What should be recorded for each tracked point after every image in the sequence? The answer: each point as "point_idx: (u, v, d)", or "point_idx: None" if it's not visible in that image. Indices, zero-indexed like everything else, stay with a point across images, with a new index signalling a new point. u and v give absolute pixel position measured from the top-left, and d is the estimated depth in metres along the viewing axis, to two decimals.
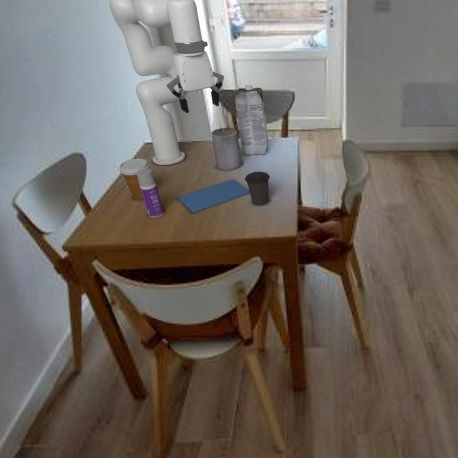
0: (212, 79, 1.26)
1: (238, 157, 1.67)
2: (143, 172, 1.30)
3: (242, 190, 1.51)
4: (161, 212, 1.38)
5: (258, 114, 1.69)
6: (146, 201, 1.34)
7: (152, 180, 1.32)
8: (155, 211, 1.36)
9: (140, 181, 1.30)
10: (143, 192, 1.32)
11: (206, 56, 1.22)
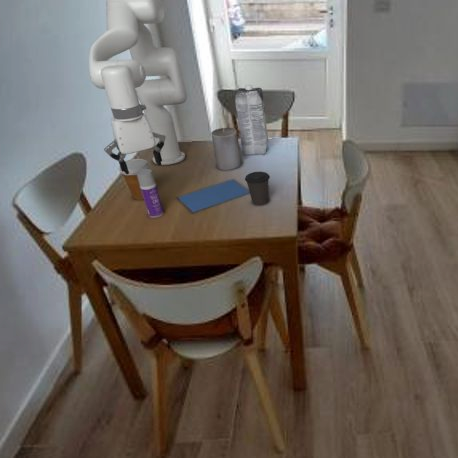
0: (152, 141, 1.26)
1: (238, 157, 1.67)
2: (143, 172, 1.30)
3: (242, 190, 1.51)
4: (161, 212, 1.38)
5: (258, 114, 1.69)
6: (146, 201, 1.34)
7: (152, 180, 1.32)
8: (155, 211, 1.36)
9: (140, 181, 1.30)
10: (143, 192, 1.32)
11: (144, 119, 1.22)
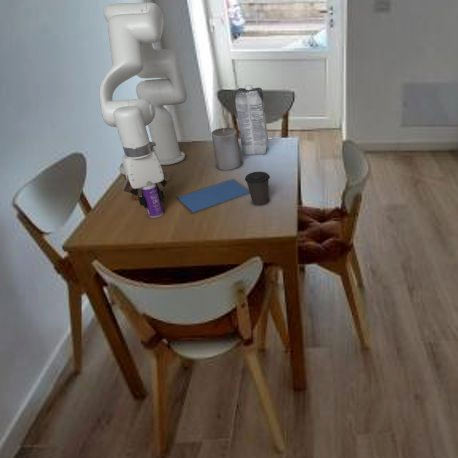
0: (161, 175, 1.33)
1: (238, 157, 1.67)
2: None
3: (242, 190, 1.51)
4: (161, 212, 1.38)
5: (258, 114, 1.69)
6: (146, 201, 1.34)
7: None
8: (155, 211, 1.36)
9: None
10: (143, 192, 1.32)
11: (154, 156, 1.29)
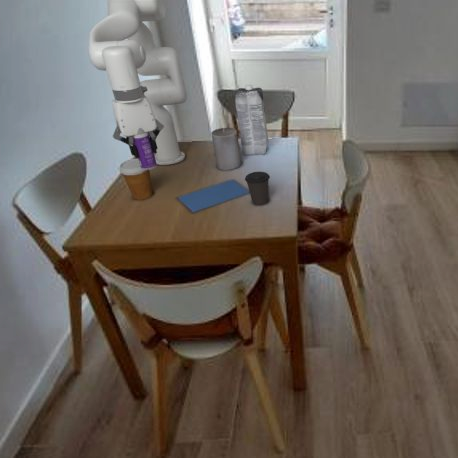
0: (153, 123, 1.26)
1: (238, 157, 1.67)
2: None
3: (242, 190, 1.51)
4: (154, 164, 1.31)
5: (258, 114, 1.69)
6: (138, 151, 1.27)
7: None
8: (148, 163, 1.29)
9: None
10: (134, 141, 1.26)
11: (145, 101, 1.22)
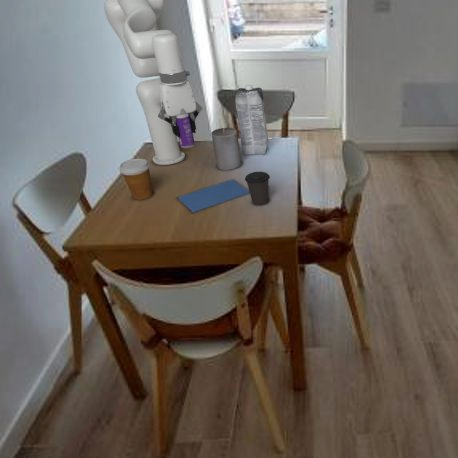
0: (194, 105, 1.39)
1: (238, 157, 1.67)
2: None
3: (242, 190, 1.51)
4: (193, 143, 1.44)
5: (258, 114, 1.69)
6: (179, 130, 1.40)
7: None
8: (188, 141, 1.42)
9: None
10: (177, 121, 1.38)
11: (188, 84, 1.35)
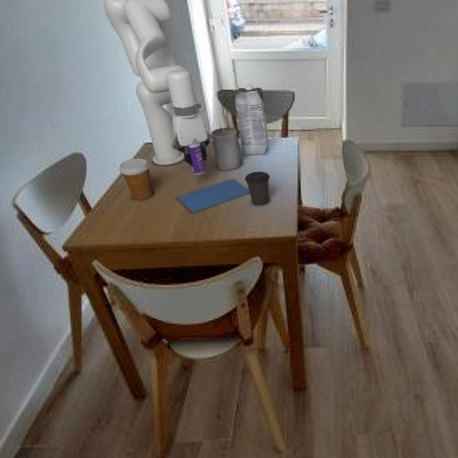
0: (205, 134, 1.46)
1: (238, 157, 1.67)
2: None
3: (242, 190, 1.51)
4: (204, 170, 1.51)
5: (258, 114, 1.69)
6: (191, 159, 1.48)
7: None
8: (199, 168, 1.50)
9: None
10: (189, 150, 1.46)
11: (200, 116, 1.42)
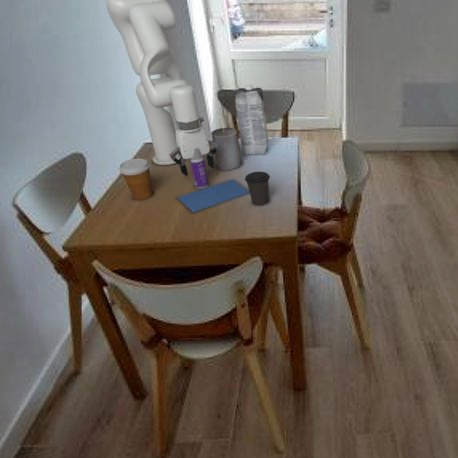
0: (207, 147, 1.49)
1: (238, 157, 1.67)
2: None
3: (242, 190, 1.51)
4: (207, 184, 1.54)
5: (258, 114, 1.69)
6: (194, 173, 1.50)
7: (200, 154, 1.48)
8: (202, 183, 1.53)
9: None
10: (192, 165, 1.49)
11: (202, 130, 1.45)
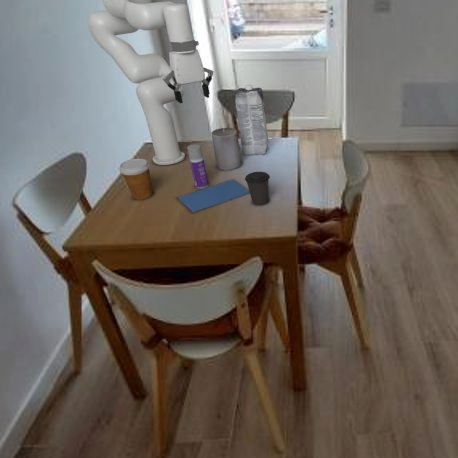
0: (202, 74, 1.45)
1: (238, 157, 1.67)
2: (193, 147, 1.47)
3: (242, 190, 1.51)
4: (207, 184, 1.54)
5: (258, 114, 1.69)
6: (194, 173, 1.50)
7: (200, 154, 1.48)
8: (202, 183, 1.53)
9: (190, 155, 1.47)
10: (192, 165, 1.49)
11: (197, 53, 1.41)
